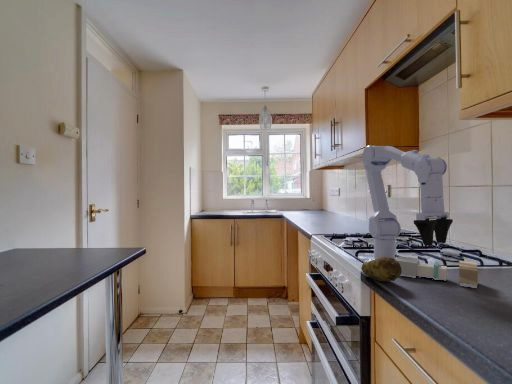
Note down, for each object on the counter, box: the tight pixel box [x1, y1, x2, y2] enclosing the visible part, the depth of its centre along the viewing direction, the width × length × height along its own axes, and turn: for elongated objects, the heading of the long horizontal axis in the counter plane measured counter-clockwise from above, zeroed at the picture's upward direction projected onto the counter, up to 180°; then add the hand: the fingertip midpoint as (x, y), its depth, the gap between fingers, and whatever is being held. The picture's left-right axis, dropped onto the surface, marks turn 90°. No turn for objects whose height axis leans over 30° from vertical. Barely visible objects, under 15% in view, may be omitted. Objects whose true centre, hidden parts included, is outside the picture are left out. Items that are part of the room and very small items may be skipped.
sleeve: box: [396, 255, 420, 276], centre depth 87 cm, size 6×6×5 cm
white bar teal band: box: [417, 261, 448, 280], centre depth 85 cm, size 5×12×4 cm, turn 53°
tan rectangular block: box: [458, 260, 479, 285], centre depth 78 cm, size 7×4×6 cm, turn 143°
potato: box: [360, 257, 402, 282], centre depth 81 cm, size 8×13×8 cm, turn 178°
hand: (434, 244), depth 81 cm, fingers open, 7 cm apart
